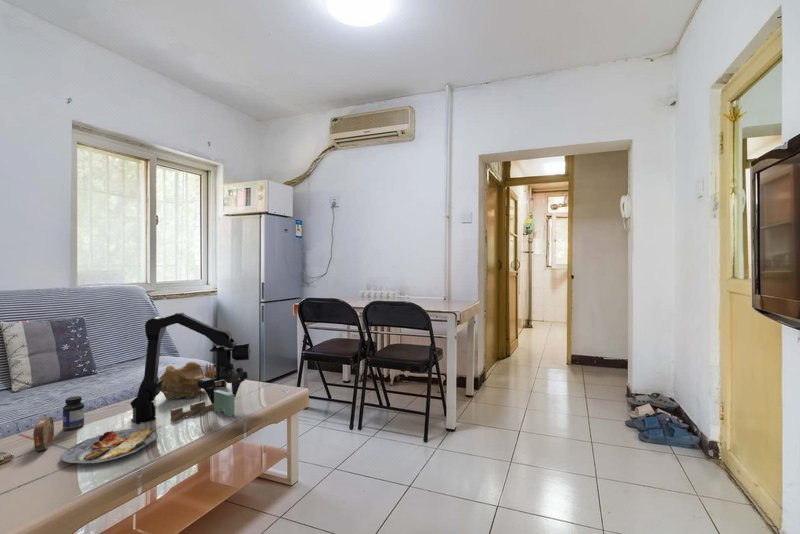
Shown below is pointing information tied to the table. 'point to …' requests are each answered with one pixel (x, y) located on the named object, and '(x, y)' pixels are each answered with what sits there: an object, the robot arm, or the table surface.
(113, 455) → the food plate
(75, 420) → the pill bottle
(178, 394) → the rough brown rock
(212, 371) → the ammunition clip
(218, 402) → the notched crosspiece
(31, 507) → the table surface
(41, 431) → the brown patterned slab
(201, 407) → the notched base plate
